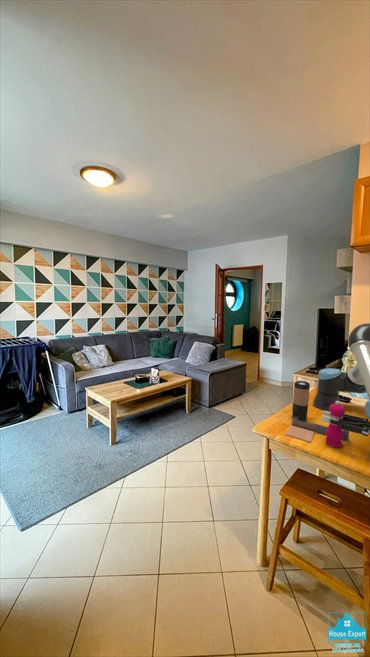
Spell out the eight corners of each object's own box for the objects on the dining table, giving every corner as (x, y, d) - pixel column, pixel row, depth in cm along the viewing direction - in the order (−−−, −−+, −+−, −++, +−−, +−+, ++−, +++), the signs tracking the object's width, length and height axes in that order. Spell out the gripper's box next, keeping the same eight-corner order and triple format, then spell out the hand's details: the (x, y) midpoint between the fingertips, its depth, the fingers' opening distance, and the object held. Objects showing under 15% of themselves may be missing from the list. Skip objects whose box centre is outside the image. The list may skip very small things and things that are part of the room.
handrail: (348, 439, 119) (349, 430, 119) (347, 441, 117) (348, 432, 117) (292, 424, 133) (293, 415, 133) (291, 425, 131) (292, 417, 131)
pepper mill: (326, 437, 120) (330, 396, 118) (344, 443, 116) (348, 400, 114) (322, 444, 115) (326, 401, 113) (341, 450, 110) (346, 405, 108)
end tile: (314, 433, 124) (314, 431, 124) (310, 442, 116) (310, 441, 115) (290, 426, 131) (290, 425, 131) (285, 434, 122) (285, 433, 122)
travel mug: (308, 422, 136) (311, 385, 134) (293, 420, 137) (296, 384, 135) (304, 416, 143) (307, 381, 141) (290, 414, 145) (293, 380, 143)
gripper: (387, 451, 97) (318, 431, 110) (384, 432, 111) (324, 416, 125) (389, 432, 96) (320, 414, 109) (386, 415, 111) (325, 402, 124)
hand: (322, 416), depth 117 cm, fingers closed on pepper mill, 5 cm apart
